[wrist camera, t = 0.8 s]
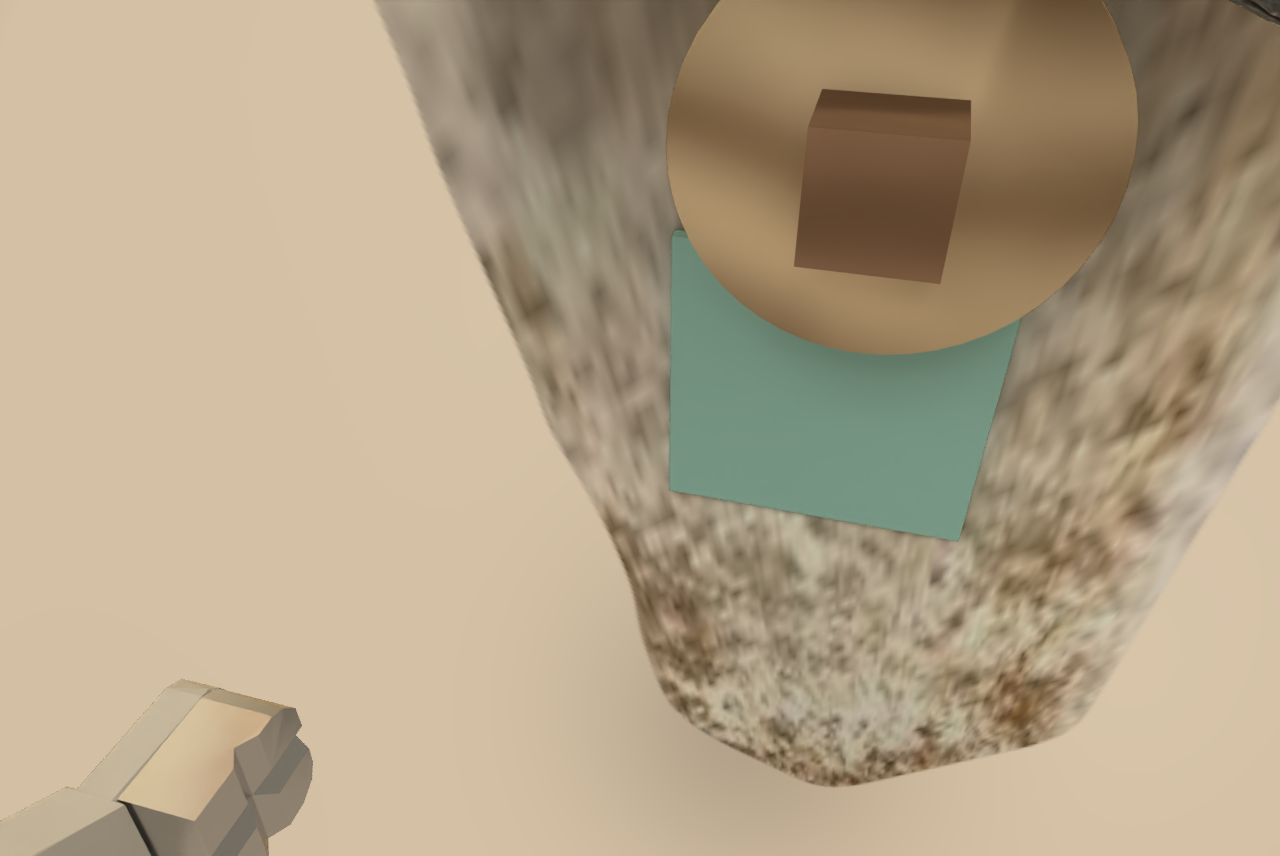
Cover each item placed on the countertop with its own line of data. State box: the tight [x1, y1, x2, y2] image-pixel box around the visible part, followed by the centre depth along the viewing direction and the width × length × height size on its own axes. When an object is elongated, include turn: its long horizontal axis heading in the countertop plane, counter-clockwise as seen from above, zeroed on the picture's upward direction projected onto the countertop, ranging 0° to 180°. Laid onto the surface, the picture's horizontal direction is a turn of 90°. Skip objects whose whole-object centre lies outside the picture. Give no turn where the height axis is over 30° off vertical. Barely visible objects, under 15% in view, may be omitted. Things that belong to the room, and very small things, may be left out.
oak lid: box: [666, 0, 1138, 355], centre depth 26 cm, size 13×13×4 cm
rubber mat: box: [669, 230, 1022, 541], centre depth 40 cm, size 14×14×1 cm
